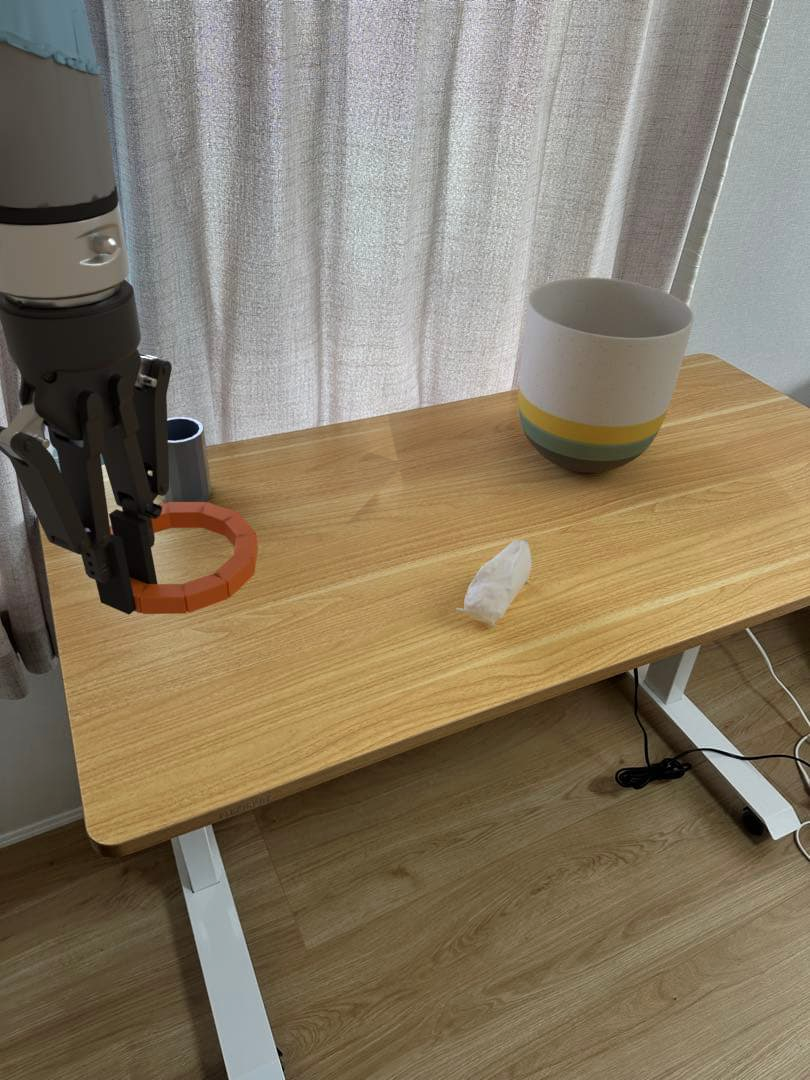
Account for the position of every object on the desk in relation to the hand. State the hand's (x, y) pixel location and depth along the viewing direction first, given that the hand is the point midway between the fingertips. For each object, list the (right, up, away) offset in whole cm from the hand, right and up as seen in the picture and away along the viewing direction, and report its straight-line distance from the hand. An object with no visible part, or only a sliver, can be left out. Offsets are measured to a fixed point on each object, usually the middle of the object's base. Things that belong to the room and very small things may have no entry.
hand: (130, 595), depth 60 cm
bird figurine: (+30, -3, +25) cm, 39 cm away
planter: (+44, +15, +49) cm, 68 cm away
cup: (-6, +10, +39) cm, 41 cm away
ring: (+2, +2, +4) cm, 5 cm away
